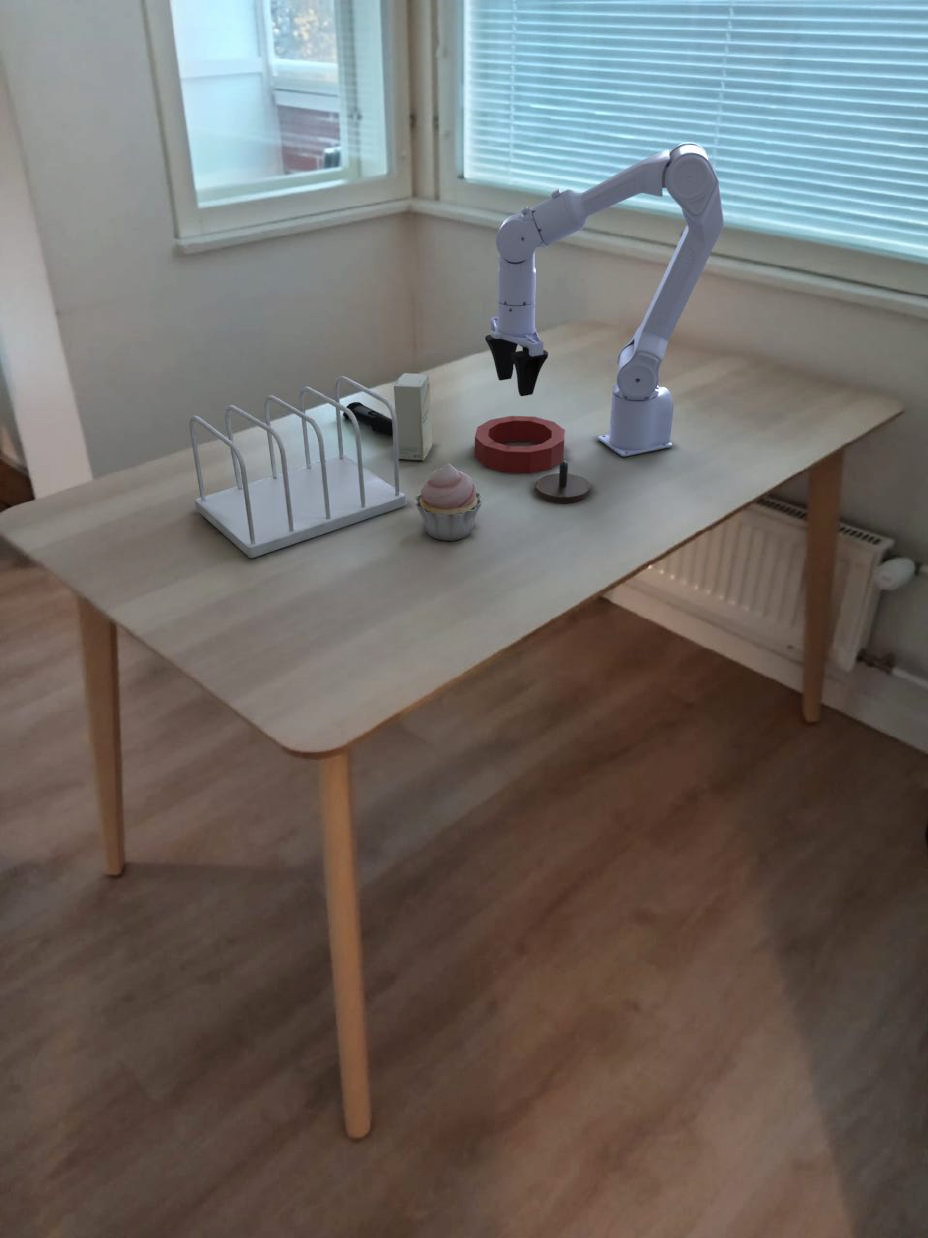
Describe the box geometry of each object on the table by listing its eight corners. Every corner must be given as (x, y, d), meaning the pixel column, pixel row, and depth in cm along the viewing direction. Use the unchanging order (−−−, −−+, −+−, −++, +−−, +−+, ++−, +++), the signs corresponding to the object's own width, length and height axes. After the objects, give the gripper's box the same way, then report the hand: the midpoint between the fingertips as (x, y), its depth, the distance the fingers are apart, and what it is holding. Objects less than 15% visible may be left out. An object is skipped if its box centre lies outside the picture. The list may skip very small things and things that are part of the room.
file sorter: (251, 561, 126) (233, 452, 117) (195, 512, 137) (176, 409, 128) (407, 506, 138) (402, 403, 129) (344, 465, 150) (336, 368, 141)
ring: (538, 430, 160) (538, 410, 158) (579, 463, 149) (580, 441, 147) (461, 445, 155) (461, 424, 153) (498, 479, 145) (499, 458, 143)
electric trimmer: (396, 447, 156) (395, 429, 154) (341, 419, 165) (339, 401, 163) (414, 440, 158) (414, 423, 156) (358, 413, 167) (357, 396, 165)
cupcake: (487, 516, 135) (487, 451, 129) (476, 549, 127) (476, 482, 122) (423, 512, 136) (420, 447, 131) (408, 544, 129) (405, 477, 123)
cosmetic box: (423, 461, 150) (421, 387, 143) (396, 459, 151) (392, 385, 144) (432, 445, 155) (430, 373, 149) (406, 443, 156) (403, 371, 149)
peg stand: (573, 475, 146) (574, 446, 143) (599, 496, 140) (602, 466, 137) (526, 485, 143) (527, 455, 140) (551, 507, 137) (552, 477, 134)
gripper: (472, 291, 149) (473, 376, 157) (514, 316, 138) (512, 406, 146) (513, 286, 151) (512, 369, 159) (557, 310, 140) (553, 398, 148)
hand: (515, 386), depth 152 cm, fingers open, 7 cm apart
